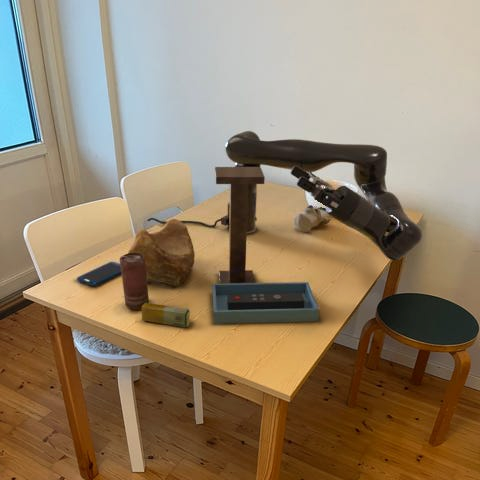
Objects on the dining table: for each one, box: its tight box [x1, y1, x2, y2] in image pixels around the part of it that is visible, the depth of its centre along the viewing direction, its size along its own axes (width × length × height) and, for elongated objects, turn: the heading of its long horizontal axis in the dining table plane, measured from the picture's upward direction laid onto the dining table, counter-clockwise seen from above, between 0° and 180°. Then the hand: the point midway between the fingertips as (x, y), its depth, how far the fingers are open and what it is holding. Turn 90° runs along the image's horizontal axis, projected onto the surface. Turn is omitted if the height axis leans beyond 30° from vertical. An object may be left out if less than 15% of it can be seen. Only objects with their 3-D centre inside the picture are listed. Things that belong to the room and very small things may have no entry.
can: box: [119, 252, 150, 311], centre depth 124 cm, size 6×6×14 cm
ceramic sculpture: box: [294, 204, 332, 233], centre depth 173 cm, size 11×9×15 cm
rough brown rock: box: [127, 218, 196, 287], centre depth 137 cm, size 23×17×15 cm
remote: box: [227, 293, 305, 310], centre depth 127 cm, size 20×4×3 cm, turn 95°
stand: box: [214, 166, 266, 284], centre depth 130 cm, size 12×10×32 cm
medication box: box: [141, 302, 191, 329], centre depth 120 cm, size 12×3×4 cm, turn 78°
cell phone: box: [76, 261, 122, 288], centre depth 141 cm, size 7×14×1 cm, turn 146°
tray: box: [211, 281, 320, 325], centre depth 127 cm, size 27×15×4 cm, turn 95°
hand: (295, 174), depth 109 cm, fingers open, 8 cm apart
